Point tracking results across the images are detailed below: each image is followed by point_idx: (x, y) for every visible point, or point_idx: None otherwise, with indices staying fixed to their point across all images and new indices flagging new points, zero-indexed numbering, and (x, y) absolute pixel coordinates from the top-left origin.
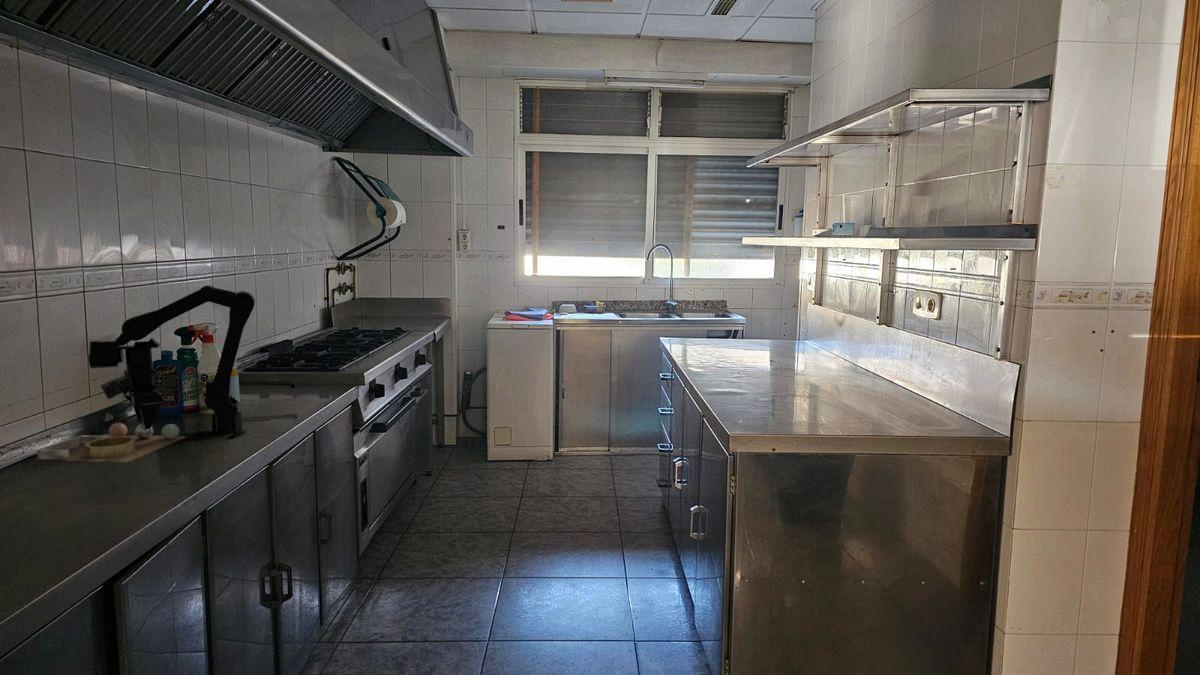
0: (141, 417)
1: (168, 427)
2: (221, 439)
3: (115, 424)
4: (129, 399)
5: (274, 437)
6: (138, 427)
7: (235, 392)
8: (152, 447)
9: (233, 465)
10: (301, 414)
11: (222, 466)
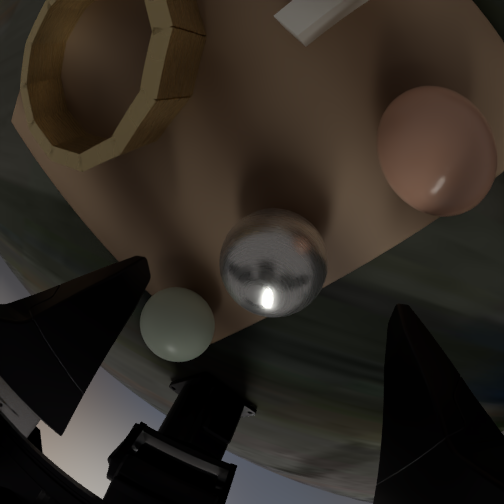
0: (392, 343)
1: (142, 330)
2: (181, 373)
3: (442, 136)
4: (471, 483)
5: (151, 403)
6: (244, 246)
7: None
8: (103, 210)
9: (18, 278)
10: (299, 477)
11: (14, 265)
